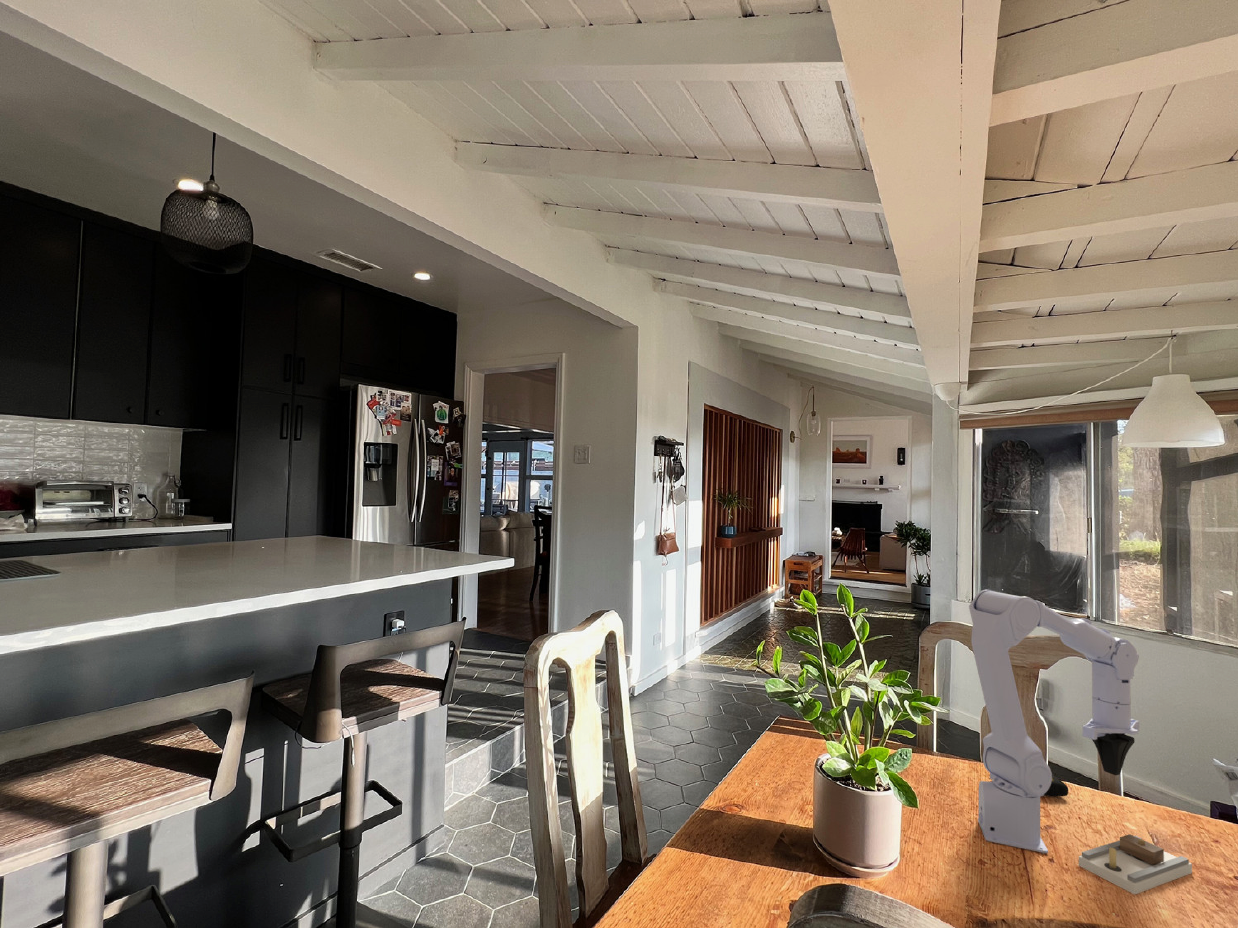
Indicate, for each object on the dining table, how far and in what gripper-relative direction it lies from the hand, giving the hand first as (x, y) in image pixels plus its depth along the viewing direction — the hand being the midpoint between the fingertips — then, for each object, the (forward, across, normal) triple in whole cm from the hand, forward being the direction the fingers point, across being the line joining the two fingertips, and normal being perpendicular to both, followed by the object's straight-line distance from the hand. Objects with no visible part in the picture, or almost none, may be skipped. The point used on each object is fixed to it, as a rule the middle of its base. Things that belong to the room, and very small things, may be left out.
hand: (1111, 772), depth 115 cm
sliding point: (+8, -9, -9) cm, 16 cm away
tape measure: (+11, +4, +14) cm, 18 cm away
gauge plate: (+10, -12, -9) cm, 18 cm away
